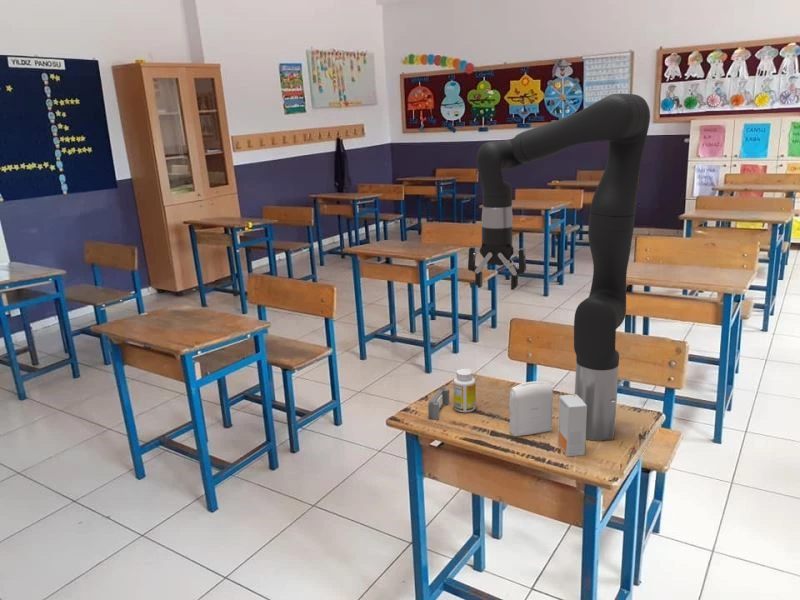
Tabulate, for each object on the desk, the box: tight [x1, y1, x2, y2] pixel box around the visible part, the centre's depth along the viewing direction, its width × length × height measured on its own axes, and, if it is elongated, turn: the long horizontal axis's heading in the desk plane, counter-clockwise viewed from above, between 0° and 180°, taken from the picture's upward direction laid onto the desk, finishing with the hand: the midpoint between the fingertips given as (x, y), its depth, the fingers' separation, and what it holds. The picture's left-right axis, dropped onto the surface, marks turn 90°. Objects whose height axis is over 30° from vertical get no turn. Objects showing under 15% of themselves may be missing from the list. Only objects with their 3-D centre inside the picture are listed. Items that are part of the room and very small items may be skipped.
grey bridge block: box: [427, 387, 450, 421], centre depth 160 cm, size 2×10×4 cm, turn 159°
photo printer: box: [509, 380, 554, 437], centre depth 147 cm, size 10×4×12 cm, turn 103°
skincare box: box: [557, 393, 587, 457], centre depth 138 cm, size 6×4×12 cm
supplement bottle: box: [453, 368, 477, 413], centre depth 160 cm, size 6×6×10 cm
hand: (496, 288), depth 159 cm, fingers open, 8 cm apart
